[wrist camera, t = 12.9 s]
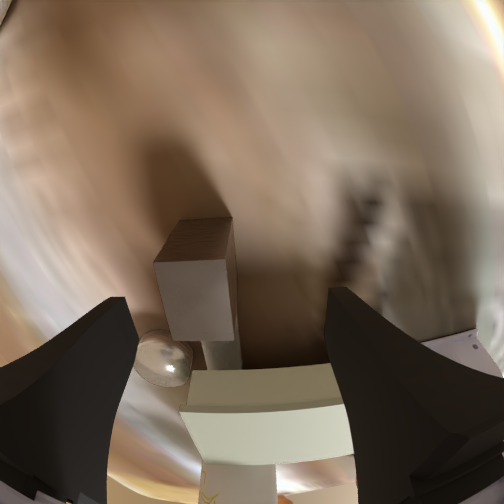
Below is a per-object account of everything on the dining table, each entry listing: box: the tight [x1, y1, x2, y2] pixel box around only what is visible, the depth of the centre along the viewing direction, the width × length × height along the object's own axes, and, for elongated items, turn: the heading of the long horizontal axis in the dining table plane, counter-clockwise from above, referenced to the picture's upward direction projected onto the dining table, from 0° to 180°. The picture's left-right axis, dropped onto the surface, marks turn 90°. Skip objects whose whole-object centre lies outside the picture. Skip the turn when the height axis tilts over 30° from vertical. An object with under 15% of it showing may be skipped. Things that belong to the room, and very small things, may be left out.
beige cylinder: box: [198, 459, 278, 504], centre depth 25 cm, size 8×8×12 cm
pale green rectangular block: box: [179, 363, 354, 465], centre depth 21 cm, size 17×10×8 cm, turn 93°
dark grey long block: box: [153, 217, 243, 370], centre depth 19 cm, size 4×16×6 cm, turn 3°
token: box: [133, 330, 194, 387], centre depth 23 cm, size 5×5×2 cm
